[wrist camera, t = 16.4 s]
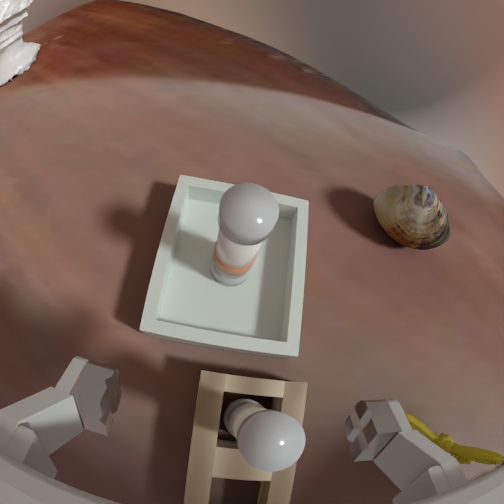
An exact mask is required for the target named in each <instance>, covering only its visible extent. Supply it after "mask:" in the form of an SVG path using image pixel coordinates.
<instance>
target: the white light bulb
mask: <svg viewBox="0 0 504 504" xmlns="http://www.w3.org/2000/svg"><path fill="white" fill-rule="evenodd" d="M223 421H224V424H225V426H226V428H227V430H228V431H229V433H230V434H231V435H233V436H234V437H235V438H236V439H237V446H238V448H239V450H240V452H241V454H242V455H243V457H244V459H245V460H246V461H247V462H248V463H249V464H250V465H251V466H252V467H254V468H256V469H258V470H261V471H267V472H274V471H280V470H283V469H285V468H287V467H289V466H291V465H292V464H294V463H295V462H296V461H297V460H298V459H299V457H300V456H301V454H302V452H303V450H304V447H305V433H304V430H303V428H302V426H301V425H300V423H299V422H298V421H297V420H296V419H294V418H293V417H291V416H289V415H287V414H284V413H282V412H279V411H276V410H267V409H265V408H264V407H263V406H262V405H261V404H260V403H258V402H256V401H254V400H252V399H248V398H240V399H236V400H234V401H232V402H231V403H230V404H228V406H227V407H226V408H225V410H224V414H223Z"/></svg>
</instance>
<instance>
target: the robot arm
mask: <svg viewBox="0 0 504 504" xmlns="http://www.w3.org/2000/svg"><path fill="white" fill-rule="evenodd" d="M118 379H119V370H118V369H116V368H113V367H110V366H106V365H103V364H100V363H97V362H94V361H91V360H88V359H85V358H82V357H79V356H76V357H74V358H73V359H72V361H71V362H70V364H69V365H68V367H67V368H66V370H65V372H64V373H63V375H62V377H61V378H60V380H59V381H58V383H57V385H56V386H55V388H54V387H49V388H47V389H45V390H42V391H40V392H38V393H36V394H34V395H31V396H29V397H27V398H25V399H23V400H20V401H18V402H16V403H14V404H11V405H9V406H7V407H5V408H2V409H0V504H121V503H118V502H114V501H111V500H108V499H105V498H102V497H99V496H96V495H93V494H90V493H87V492H85V491H82V490H79V489H77V488H74V487H72V486H69V485H67V484H64V483H62V482H60V481H58V480H55V476H56V473H57V469H56V467H55V466H54V464H53V462H52V461H51V459H50V458H49V456H48V455H50V454H51V453H53V452H54V451H56V450H57V449H58V448H60V447H61V446H63V445H64V444H65V443H67V442H68V441H70V440H71V439H72V438H74V437H75V436H77V435H78V434H79V433H81V432H82V431H84V429H86V430H89V431H92V432H96V433H99V434H102V435H106V436H108V433H109V431H110V428H111V425H112V423H113V419H112V414H113V413H115V412H116V411H117V409H118V406H119V402H120V397H121V387H120V385H119V384H118V382H117V381H118ZM355 410H356V411H355V412H354V413H352V414H350V415H349V417H348V418H347V420H346V423H345V435H346V438H347V439H348V440H349V441H350V442H351V445H350V447H349V449H350V452H351V455H352V459H353V462H357V461H369V460H373V462H374V463H375V464H376V465H377V466H378V467H379V468H380V469H381V470H382V471H383V472H384V473H385V474H386V475H387V476H388V477H389V479H390V480H391V481H392V482H393V483H394V484H395V485H396V486H397V487H398V488H399V489H400V490H401V491H402V492H400V493H399V494H398V495H396V496H395V497H394V498H393V500H392V502H393V504H504V465H503V466H501V467H499V468H497V469H495V470H493V471H491V472H489V473H487V474H485V475H483V476H481V477H479V478H477V479H474V480H472V481H470V482H467V480H466V478H465V476H464V474H463V472H462V470H461V468H460V466H459V464H458V462H457V460H456V458H454V457H453V456H451V455H450V454H448V453H447V452H446V451H444V450H443V449H441V448H440V447H439V446H437V445H436V444H434V443H433V442H432V441H430V440H429V439H428V438H426V437H425V436H423V435H422V434H421V433H419V432H418V431H417V430H412V428H411V425H410V423H409V421H408V419H407V417H406V415H405V413H404V411H403V409H402V407H401V405H400V403H399V401H397V400H396V399H390V400H361V401H360V402H358V403H357V405H356V406H355Z"/></svg>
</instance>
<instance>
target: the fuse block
mask: <svg viewBox="0 0 504 504" xmlns="http://www.w3.org/2000/svg"><path fill="white" fill-rule="evenodd" d="M307 384H308V383H303V382H290V381H279V380H269V379H260V378H252V377H244V376H237V375H230V374H223V373H217V372H210V371H204V370H201V374H200V380H199V387H198V394H197V401H196V408H195V415H194V422H193V429H192V437H191V444H190V452H189V460H188V468H187V477H186V485H185V494H184V503H183V504H209V496H210V488H211V481H212V477H216V478H226V479H238V480H255V481H261V483H260V489H259V495H258V501H257V504H289V503H290V498H291V493H292V487H293V482H294V476H295V470H296V464H297V461H296V462H295V463H294V464H292V465H291V466H289V467H287V468H285V469H283V470H280V471H274V472H267V471H261V470H258V469H256V468H254V467H252V466H251V465H250V464H249V463H248V462H247V461H246V460H245V459H244V457H243V455H242V454H241V452H240V450H239V448H238V446H237V441H230V440H221V439H217V437H218V430H219V422H220V415H221V408H222V401H223V394H224V391H226V392H234V393H242V394H250V395H259V396H269V397H273V400H272V408H271V410H276V411H279V412H282V413H284V414H287V415H289V416H291V417H293V418H294V419H296V420H297V421H298V422H299V423H300V425H301V426H302V424H303V417H304V409H305V401H306V392H307Z"/></svg>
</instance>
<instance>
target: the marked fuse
mask: <svg viewBox="0 0 504 504" xmlns="http://www.w3.org/2000/svg"><path fill="white" fill-rule="evenodd" d="M278 217H279V206H278V203H277V200H276V199H275V197H274V196H273V194H272V193H271V192H270V191H268V190H267V189H266V188H264V187H262V186H260V185H257V184H253V183H240V184H236V185H234V186H232V187H230V188H229V189H228V190H226V192H225V193H224V194H223V196H222V198H221V201H220V206H219V213H218V225H219V232H218V238H217V241H216V243H215V247H214V252H213V255H212V259H211V266H210V269H211V273H212V276H213V277H214V279H215V280H216V281H217V282H218V283H220V284H222V285H224V286H229V287H233V286H238V285H240V284H242V283H243V282H244V281H245V280H246V279H247V277H248V275H249V273H250V272H251V269H252V266H253V263H254V261H255V259H256V256H257V252H258V250H259V248H260V246H261V244H262V242H263V241H264V240H265V239H266V238H267V237H268V236H269V235H270V233H271V231H272V229H273V227H274V226H275V224H276V222H277V220H278Z"/></svg>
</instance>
